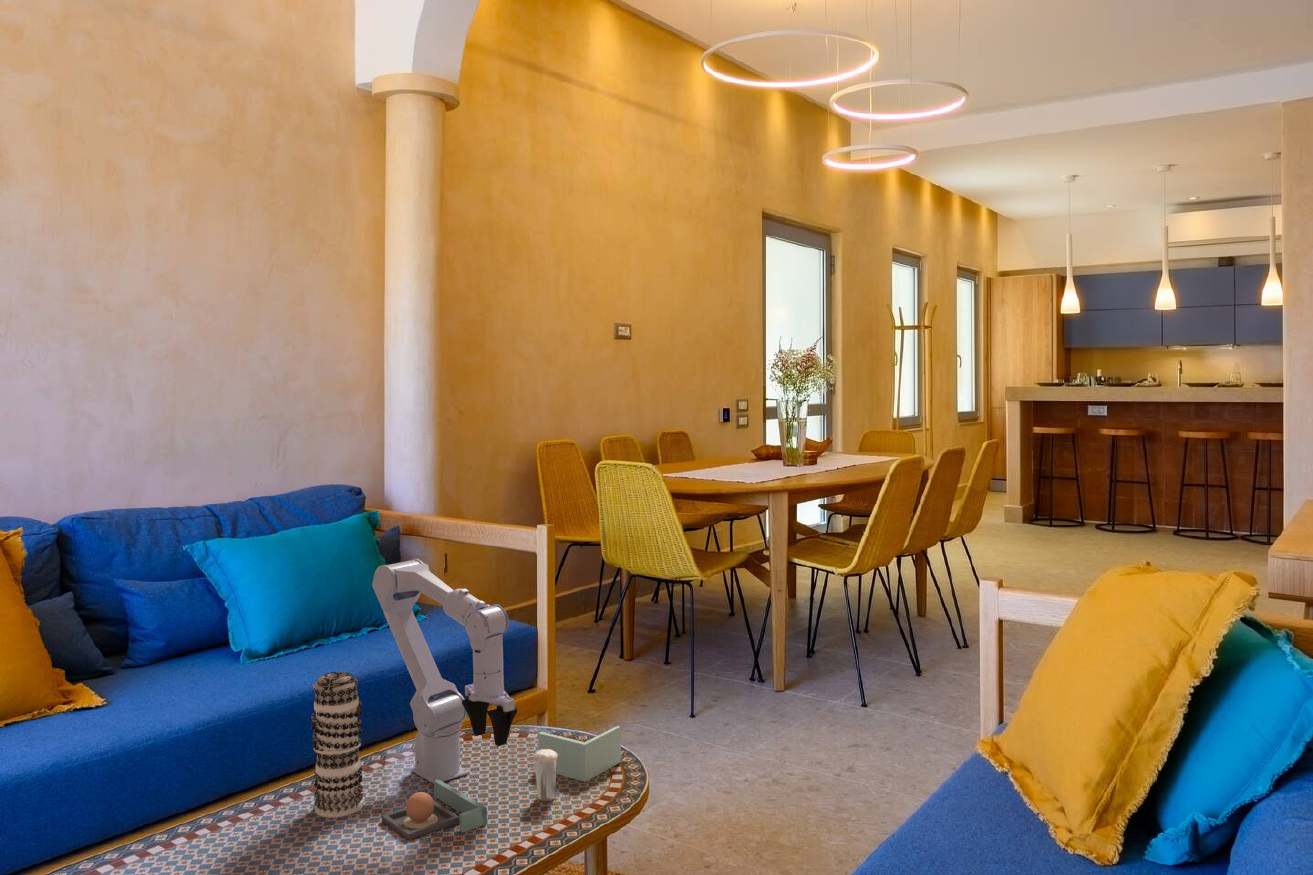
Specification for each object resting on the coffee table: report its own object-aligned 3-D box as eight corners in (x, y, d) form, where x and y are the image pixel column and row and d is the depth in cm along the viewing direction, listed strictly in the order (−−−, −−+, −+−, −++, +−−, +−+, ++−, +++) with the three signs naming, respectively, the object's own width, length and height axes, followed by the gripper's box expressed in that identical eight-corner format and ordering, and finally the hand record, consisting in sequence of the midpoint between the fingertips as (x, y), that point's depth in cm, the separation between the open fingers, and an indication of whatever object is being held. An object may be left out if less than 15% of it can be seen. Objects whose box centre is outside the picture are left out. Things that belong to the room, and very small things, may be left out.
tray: (381, 821, 178) (381, 815, 178) (431, 805, 184) (431, 799, 184) (408, 840, 170) (408, 834, 170) (459, 823, 177) (459, 816, 177)
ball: (401, 820, 178) (399, 793, 177) (426, 812, 181) (425, 785, 181) (414, 829, 174) (413, 801, 174) (440, 820, 177) (438, 792, 177)
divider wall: (415, 802, 186) (414, 786, 186) (438, 794, 189) (438, 779, 189) (462, 832, 173) (462, 815, 173) (487, 823, 177) (486, 807, 177)
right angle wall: (620, 762, 205) (620, 726, 205) (585, 782, 195) (585, 744, 195) (575, 750, 212) (574, 716, 211) (538, 769, 202) (538, 733, 201)
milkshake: (558, 804, 185) (557, 751, 184) (531, 801, 186) (530, 749, 185) (565, 794, 189) (564, 742, 189) (538, 792, 190) (537, 741, 190)
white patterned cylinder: (374, 806, 184) (371, 674, 183) (329, 823, 177) (325, 685, 176) (348, 792, 190) (345, 664, 189) (303, 808, 184) (300, 675, 182)
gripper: (450, 666, 193) (452, 735, 194) (491, 682, 182) (493, 754, 183) (481, 659, 198) (483, 726, 198) (523, 674, 187) (524, 744, 188)
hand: (490, 739), depth 191 cm, fingers open, 7 cm apart
